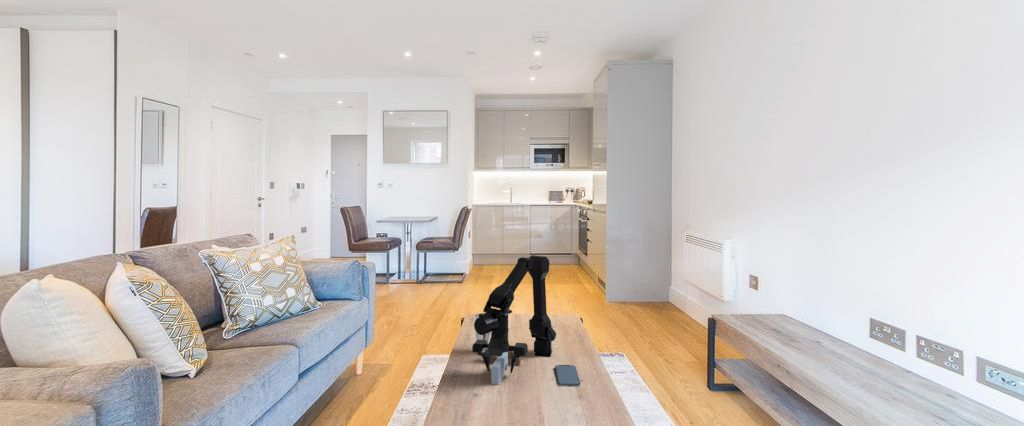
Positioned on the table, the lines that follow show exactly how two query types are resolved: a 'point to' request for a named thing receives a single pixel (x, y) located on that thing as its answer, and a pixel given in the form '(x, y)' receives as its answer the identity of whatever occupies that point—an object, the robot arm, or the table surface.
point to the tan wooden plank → (518, 361)
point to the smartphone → (567, 375)
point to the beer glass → (482, 337)
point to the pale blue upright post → (499, 368)
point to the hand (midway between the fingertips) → (499, 371)
